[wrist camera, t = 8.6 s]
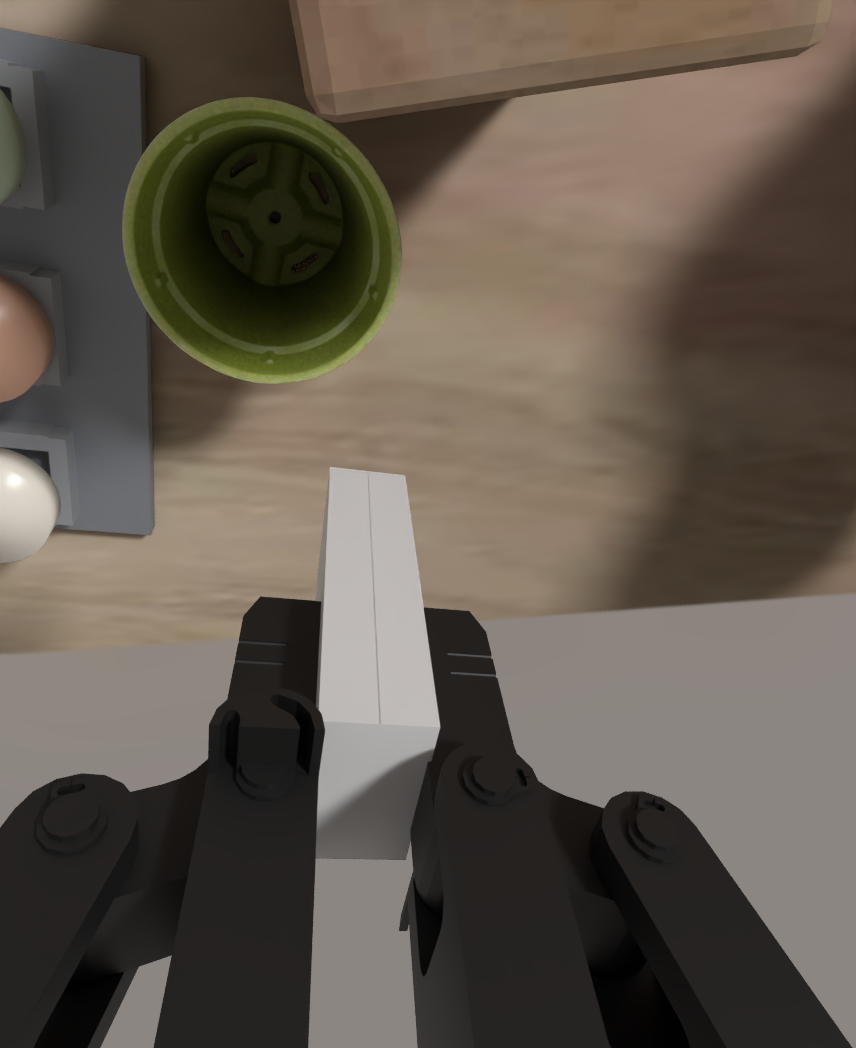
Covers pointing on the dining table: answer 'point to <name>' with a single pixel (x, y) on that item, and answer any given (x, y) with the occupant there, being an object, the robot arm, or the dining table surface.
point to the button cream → (25, 506)
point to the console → (81, 279)
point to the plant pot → (261, 241)
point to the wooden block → (526, 46)
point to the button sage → (10, 150)
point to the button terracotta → (22, 340)
